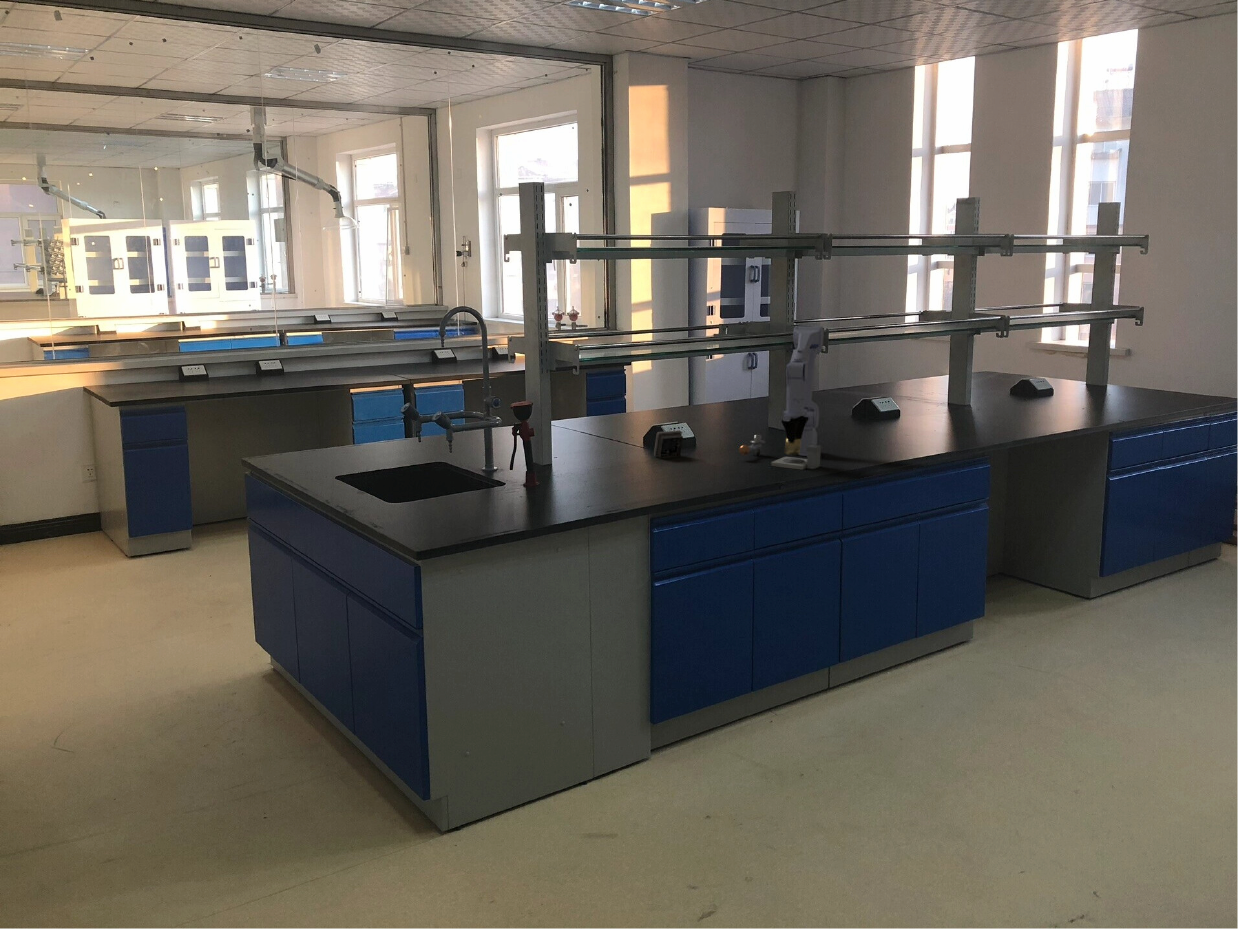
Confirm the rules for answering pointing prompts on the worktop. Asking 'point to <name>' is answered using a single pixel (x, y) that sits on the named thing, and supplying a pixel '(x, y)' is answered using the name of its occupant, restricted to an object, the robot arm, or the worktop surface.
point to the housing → (793, 447)
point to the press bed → (801, 460)
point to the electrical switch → (668, 444)
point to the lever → (746, 449)
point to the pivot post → (758, 442)
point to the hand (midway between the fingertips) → (794, 439)
